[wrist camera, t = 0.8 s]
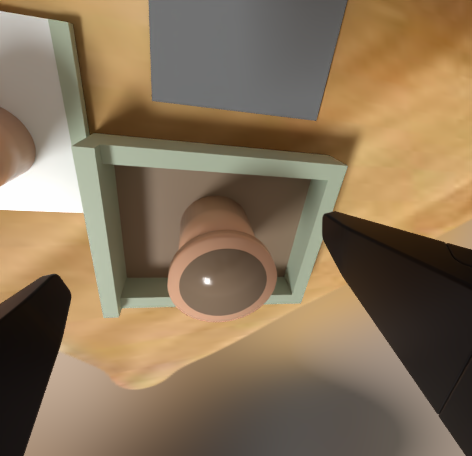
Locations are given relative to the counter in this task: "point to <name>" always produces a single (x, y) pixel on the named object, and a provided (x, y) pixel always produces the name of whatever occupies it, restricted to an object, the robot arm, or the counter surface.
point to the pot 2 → (219, 263)
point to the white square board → (43, 109)
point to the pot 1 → (14, 147)
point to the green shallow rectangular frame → (182, 196)
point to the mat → (244, 53)
